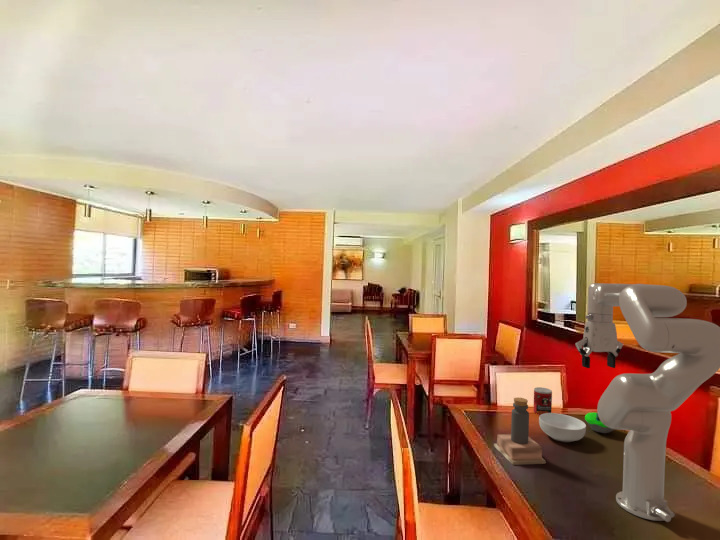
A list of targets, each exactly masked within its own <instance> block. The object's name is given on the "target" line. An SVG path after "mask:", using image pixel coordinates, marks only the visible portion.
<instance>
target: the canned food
mask: <svg viewBox="0 0 720 540" xmlns="http://www.w3.org/2000/svg"><path fill="white" fill-rule="evenodd" d="M552 400H553V391H552V390H551V389H549V388H546V387H537V386H536V387H535V388H534V389H533V412H535V413H534V414H536V413H537V414H536V415H538V414H539V415H538V416H540V415H541V414H544V413H552V405H553V404H552V403H553V402H552Z"/></svg>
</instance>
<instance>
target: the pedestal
mask: <svg viewBox="0 0 720 540" xmlns="http://www.w3.org/2000/svg"><path fill="white" fill-rule="evenodd" d="M496 436H497V437H496V439H497V440H496V443H493V447H494V448H495V449H496V450H497V451H498V452H500V454H501V455H502V456H503V457H505V459H506V460H507V461H509V463H510V464H511V465H512V466H513V465H515V466H519V465H543V464H546V463H547V462H546V460H545V459H544V458H543V446H541V445H540V444H539V443H537V441H535V440H534V439H532V438H531V437H530V436H528V443H527V444H518V443H515V442H513V441H512V440H511V433H510V434H509V433H506V434H497V435H496Z"/></svg>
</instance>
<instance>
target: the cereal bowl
mask: <svg viewBox="0 0 720 540" xmlns="http://www.w3.org/2000/svg"><path fill="white" fill-rule="evenodd" d="M538 416H539V417H538V423H539V427H540V429H541V430H542V432H543V433H545V435H547V436H549V437H550V438H552V439H553V440H555V441H558V442H562V443H571V442H575V441H576V442H577V441H580V440H581V439H583V438H584V436H585V434H586V431H587V425H586V423H585V422H584V421H583V420H581V419H579V418H577V417H574V416H570V415H567V414H563V413H556V412H551V413H544V414H541V415H538Z"/></svg>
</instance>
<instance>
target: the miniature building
mask: <svg viewBox="0 0 720 540" xmlns="http://www.w3.org/2000/svg"><path fill="white" fill-rule="evenodd" d="M584 420H585V421H586V423H587V425H588V426H589V428H591V429H592V430H593V431H594V432H596V433H600V434H609V433H611V432H613V431H615V429H612V428H609V427H607V426H605V425H604V424H603V423H602V422H601V421H600V419H599V417H598V412H597V411H596V412H587V413H586V414H585V416H584Z"/></svg>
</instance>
